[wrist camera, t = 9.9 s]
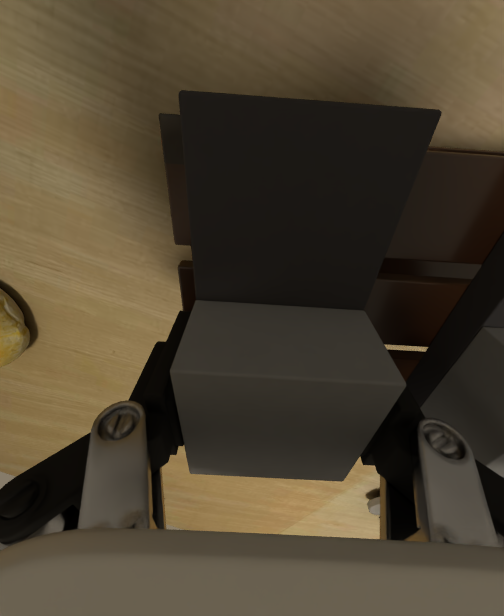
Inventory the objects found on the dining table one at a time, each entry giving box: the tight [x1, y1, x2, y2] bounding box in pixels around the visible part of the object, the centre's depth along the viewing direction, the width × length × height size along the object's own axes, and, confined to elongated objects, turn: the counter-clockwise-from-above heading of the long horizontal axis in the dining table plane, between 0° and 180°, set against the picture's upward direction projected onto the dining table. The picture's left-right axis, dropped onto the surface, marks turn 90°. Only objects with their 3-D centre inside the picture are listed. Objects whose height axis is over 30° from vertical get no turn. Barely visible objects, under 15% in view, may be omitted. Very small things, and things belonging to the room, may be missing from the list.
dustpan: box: [170, 90, 441, 481], centre depth 8 cm, size 11×6×4 cm, turn 177°
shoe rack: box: [159, 113, 504, 382], centre depth 13 cm, size 12×17×8 cm
